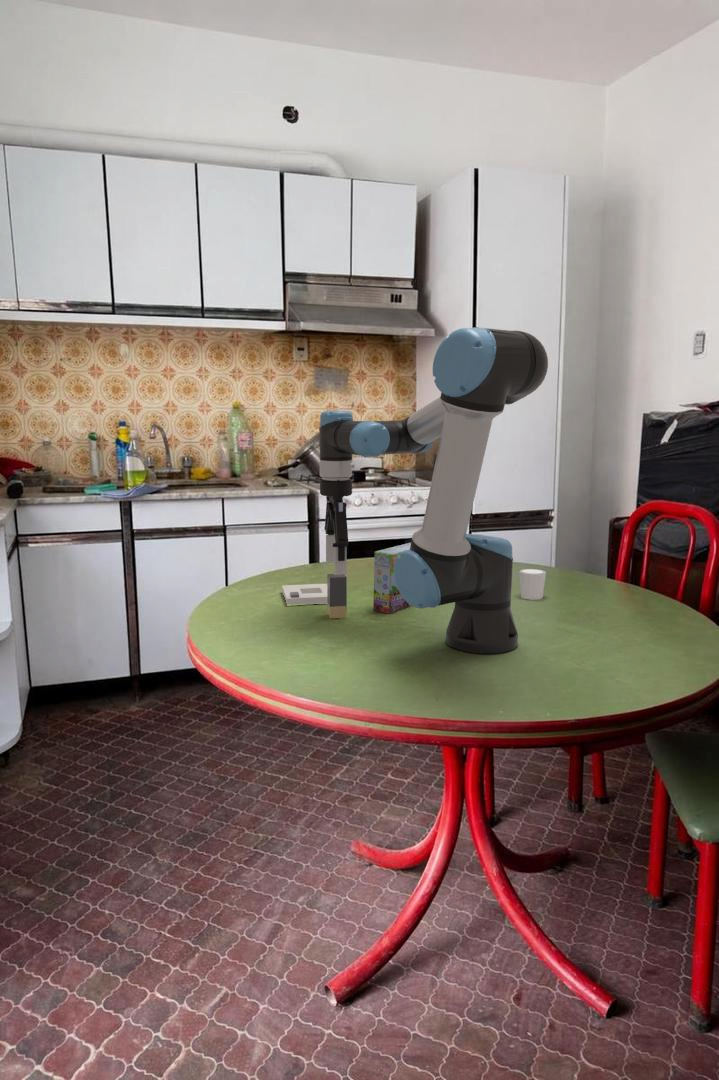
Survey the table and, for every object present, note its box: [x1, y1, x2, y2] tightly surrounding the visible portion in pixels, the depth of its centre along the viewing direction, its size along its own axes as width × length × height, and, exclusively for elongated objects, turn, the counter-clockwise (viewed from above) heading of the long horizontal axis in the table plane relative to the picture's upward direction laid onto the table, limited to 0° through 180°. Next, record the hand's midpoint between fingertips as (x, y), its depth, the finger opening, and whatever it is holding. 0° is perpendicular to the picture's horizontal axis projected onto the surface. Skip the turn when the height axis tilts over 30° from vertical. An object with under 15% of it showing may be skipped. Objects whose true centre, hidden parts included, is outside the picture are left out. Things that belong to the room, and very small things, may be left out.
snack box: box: [372, 542, 411, 614], centre depth 191 cm, size 21×6×15 cm, turn 143°
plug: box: [326, 573, 348, 619], centre depth 181 cm, size 4×4×10 cm
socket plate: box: [281, 583, 328, 605], centre depth 198 cm, size 14×14×3 cm
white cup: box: [519, 568, 547, 601], centre depth 198 cm, size 7×7×7 cm
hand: (335, 567), depth 180 cm, fingers open, 13 cm apart
